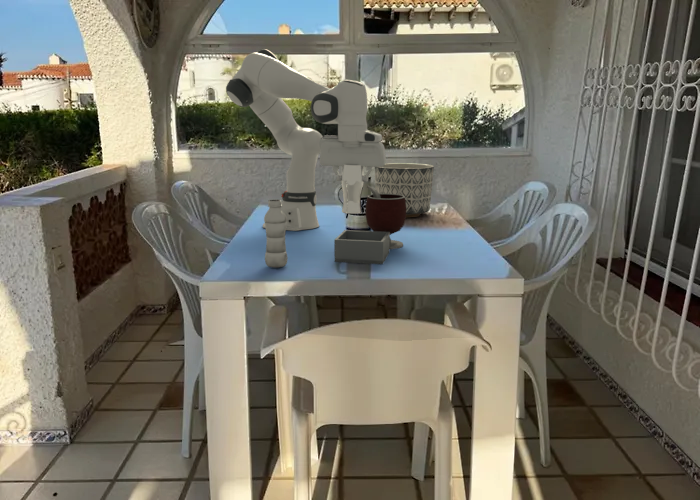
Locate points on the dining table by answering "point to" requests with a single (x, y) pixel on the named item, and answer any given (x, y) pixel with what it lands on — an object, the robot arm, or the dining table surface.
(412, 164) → the planter
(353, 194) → the beer glass
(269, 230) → the plastic bottle
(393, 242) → the mate gourd
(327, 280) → the dining table surface
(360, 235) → the bin
